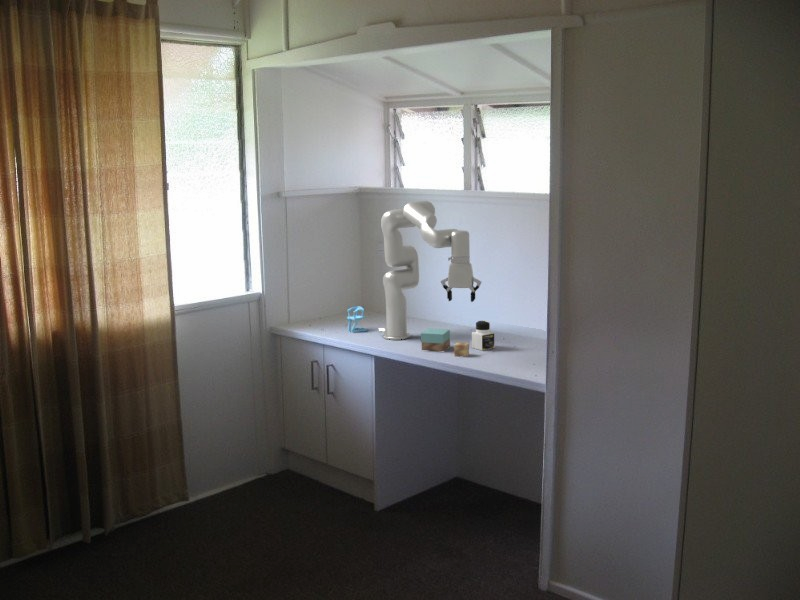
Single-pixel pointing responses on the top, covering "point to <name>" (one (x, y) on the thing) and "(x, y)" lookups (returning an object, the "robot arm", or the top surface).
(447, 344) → the walnut slab
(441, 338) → the teal slab
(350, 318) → the chair
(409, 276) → the robot arm
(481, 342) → the medicine bottle
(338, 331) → the top surface
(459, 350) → the oak block
